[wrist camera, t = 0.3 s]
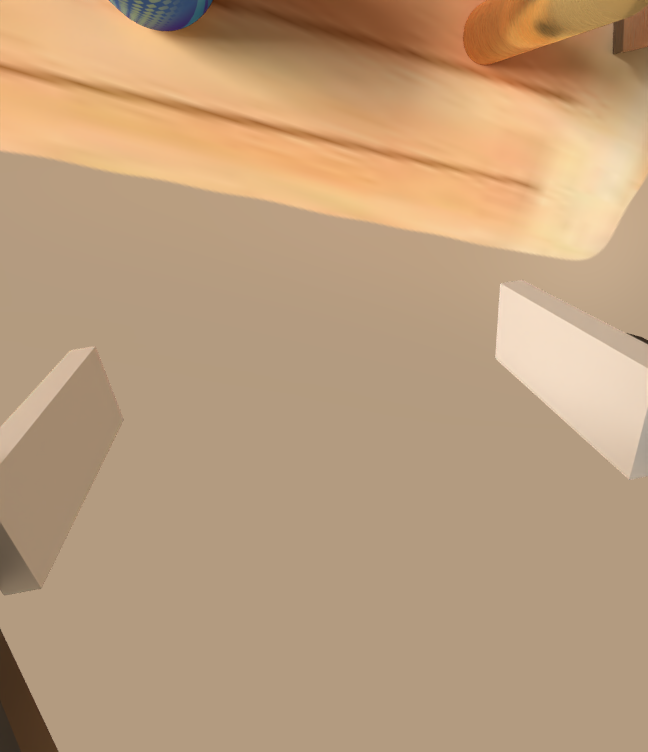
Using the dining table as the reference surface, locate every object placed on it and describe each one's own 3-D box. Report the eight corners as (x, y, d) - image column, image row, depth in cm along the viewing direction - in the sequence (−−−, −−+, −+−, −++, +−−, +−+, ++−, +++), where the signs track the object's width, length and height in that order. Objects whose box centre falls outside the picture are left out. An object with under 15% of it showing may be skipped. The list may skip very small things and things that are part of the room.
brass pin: (460, 10, 34) (589, -76, 21) (511, -7, 34) (673, -103, 21) (466, 71, 36) (588, 30, 23) (515, 56, 36) (666, 5, 23)
